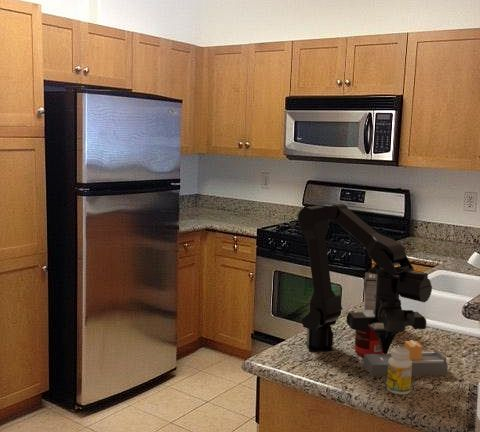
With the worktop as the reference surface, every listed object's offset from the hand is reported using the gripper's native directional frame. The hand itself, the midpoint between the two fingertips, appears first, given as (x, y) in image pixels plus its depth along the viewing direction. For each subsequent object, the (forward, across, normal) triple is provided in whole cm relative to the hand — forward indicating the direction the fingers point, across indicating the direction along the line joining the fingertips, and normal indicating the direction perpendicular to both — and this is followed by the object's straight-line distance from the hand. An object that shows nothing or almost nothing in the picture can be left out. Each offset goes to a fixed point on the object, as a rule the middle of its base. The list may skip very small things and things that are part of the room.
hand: (384, 353), depth 142 cm
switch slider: (+1, +7, 0) cm, 7 cm away
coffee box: (+5, +8, +34) cm, 35 cm away
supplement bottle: (+5, 0, -11) cm, 12 cm away
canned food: (+5, 0, +12) cm, 13 cm away
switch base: (+4, +5, 0) cm, 7 cm away
